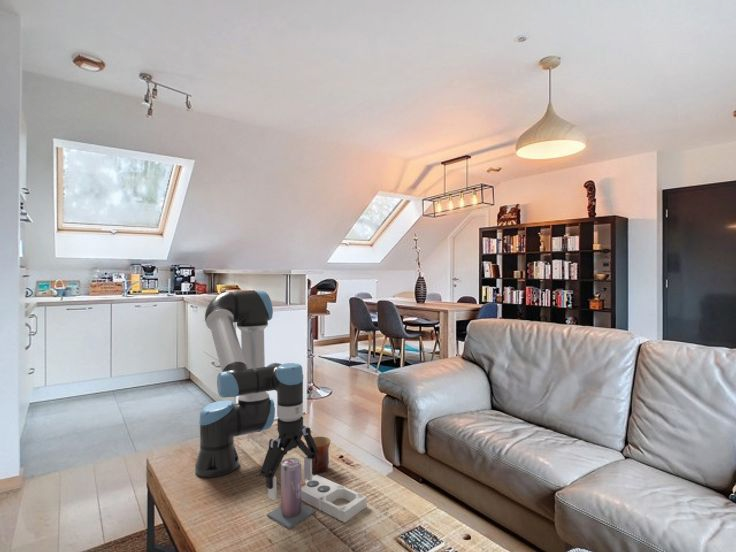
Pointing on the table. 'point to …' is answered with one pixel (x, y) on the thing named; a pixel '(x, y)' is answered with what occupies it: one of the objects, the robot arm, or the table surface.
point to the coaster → (290, 521)
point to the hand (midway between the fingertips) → (291, 488)
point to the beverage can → (291, 487)
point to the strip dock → (332, 497)
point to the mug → (321, 454)
